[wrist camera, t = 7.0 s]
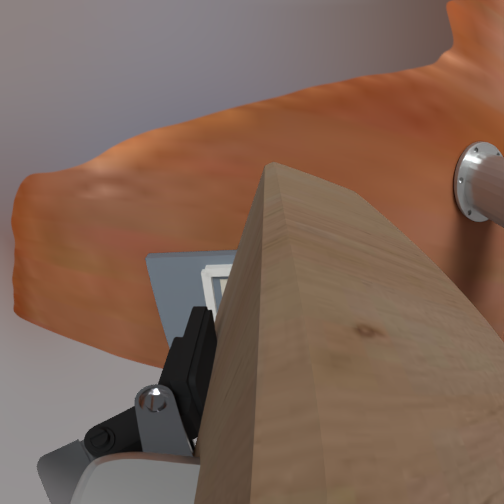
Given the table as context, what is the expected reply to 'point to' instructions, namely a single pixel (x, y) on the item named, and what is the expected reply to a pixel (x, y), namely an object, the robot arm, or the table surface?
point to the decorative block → (346, 364)
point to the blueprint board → (187, 285)
